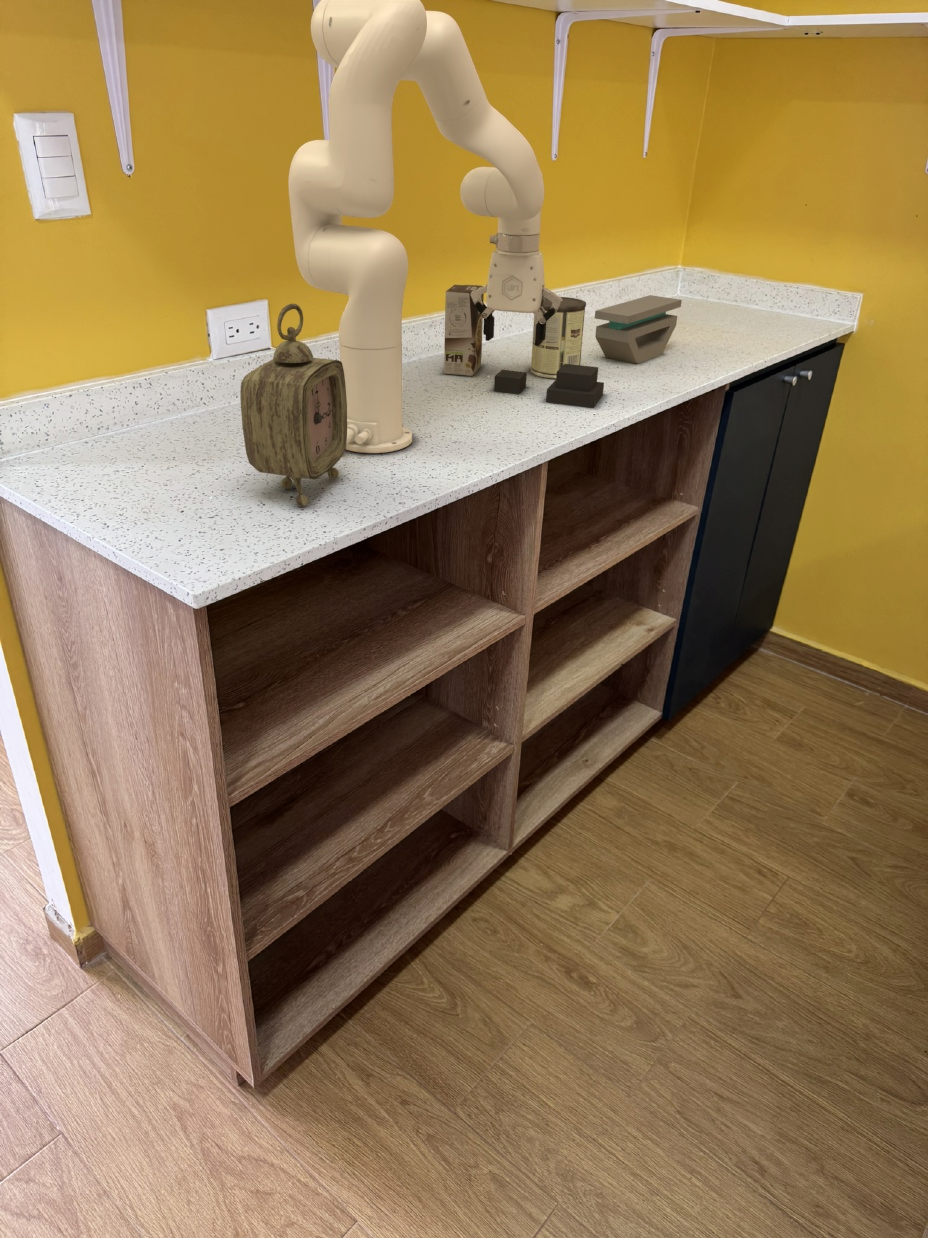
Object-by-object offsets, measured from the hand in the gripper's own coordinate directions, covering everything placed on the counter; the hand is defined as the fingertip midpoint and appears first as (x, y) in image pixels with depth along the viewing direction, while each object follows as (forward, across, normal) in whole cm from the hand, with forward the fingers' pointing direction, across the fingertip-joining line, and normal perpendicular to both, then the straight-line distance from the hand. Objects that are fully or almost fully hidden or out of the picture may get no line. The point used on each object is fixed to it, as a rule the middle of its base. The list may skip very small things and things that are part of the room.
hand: (513, 341), depth 166 cm
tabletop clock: (+8, -13, -62) cm, 64 cm away
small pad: (+9, 0, -1) cm, 9 cm away
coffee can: (+10, +5, +15) cm, 19 cm away
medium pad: (+7, +13, -1) cm, 15 cm away
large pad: (+9, +13, -2) cm, 16 cm away
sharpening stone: (+10, +18, +36) cm, 42 cm away
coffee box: (+9, -13, +9) cm, 19 cm away
